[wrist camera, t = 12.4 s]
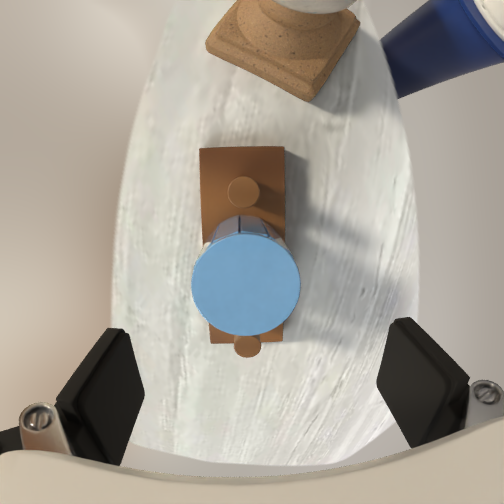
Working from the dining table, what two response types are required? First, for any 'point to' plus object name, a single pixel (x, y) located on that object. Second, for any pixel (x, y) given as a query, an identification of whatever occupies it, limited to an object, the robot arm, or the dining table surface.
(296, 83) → the candle holder
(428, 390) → the robot arm
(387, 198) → the dining table surface
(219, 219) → the rack
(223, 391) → the dining table surface
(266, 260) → the cup
